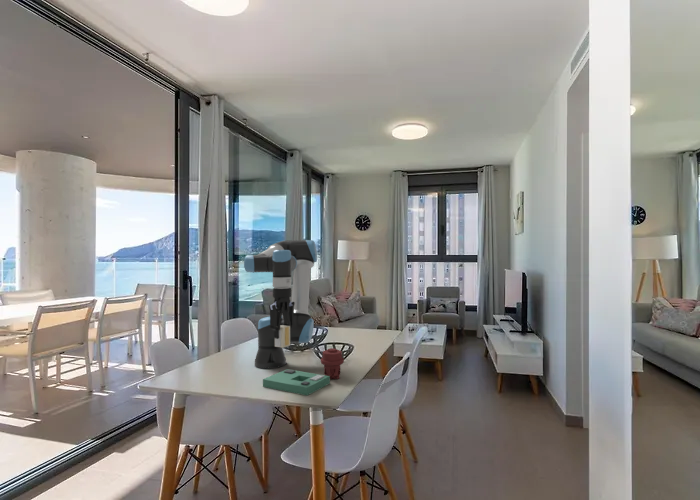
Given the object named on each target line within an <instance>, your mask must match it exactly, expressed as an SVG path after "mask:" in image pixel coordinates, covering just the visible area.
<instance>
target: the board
mask: <svg viewBox="0 0 700 500" xmlns="http://www.w3.org/2000/svg"><path fill="white" fill-rule="evenodd" d="M330 381H331V379H330V376H326V375H324V374H319V373H312V372H306V371H301V370H295V369H289V368H288V369H285V370H281V371H280V372H277V373H275V374H273V375H270V376H268V377H265V378H262V387H264V388H269V389H273V390H278V391H282V392H287V393H288V392H289V393H293V394H299V395H303V396H309V395H311V394H313V393H315V392H317V391H318V390H320V389H322V388H324V387H326V386H327V385H329V384H331V383H330Z"/></svg>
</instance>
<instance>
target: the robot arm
mask: <svg viewBox="0 0 700 500" xmlns="http://www.w3.org/2000/svg"><path fill="white" fill-rule="evenodd" d="M317 254H318V252H317V245H316V243H315V241H314V240H311V239H302V240H301V239H300V240H298V239H295V240H292V239H291V240H288V239H287V240H281V241H278V242H276V243H273V244H271V245H269V246H268V247H267V249H266V250H264V251H261V252H260V253H258V254H247V255H246V256H245V257H244V258H243V259H244V260H243V268H244V271H245V272H246V273H254V274H255V273H272V288H273V289H272V297H273V299H274V300H273V303H272V304H268V308H269V316H266V317H262V318H260V319H259V320H258V323H257V326H258V327H257V343H258V344H257V347H258V348H257V352H256V355H255V359H254V367H256V368H258V369H276V368H280V367H284V366H286V364H287V358H286V355H285V351H284V349H283V348H281V330H280V325H285V326H290V344H308V343H309V342H310V341H311V340H312V336H313V333H314V324H315V321H314V319H313V318H312V315H311V314H310V313H309V302H310V284H311V283H310V282H311V268H313V267H314V264H315V263H317V262H318V255H317ZM292 272H293V278H292ZM291 287H292V288H291ZM290 298H291V299H290ZM275 346H277V347H275Z"/></svg>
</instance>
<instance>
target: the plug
mask: <svg viewBox="0 0 700 500" xmlns="http://www.w3.org/2000/svg"><path fill="white" fill-rule="evenodd" d="M280 330H281V348H288V347H289V346H291V343H290V326H285V325H280ZM275 347H277V346H275Z"/></svg>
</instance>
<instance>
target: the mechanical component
mask: <svg viewBox="0 0 700 500" xmlns="http://www.w3.org/2000/svg"><path fill="white" fill-rule="evenodd" d="M320 363H321V365H323V367H324V368H323V370H324V371H323V373H324V374H323V375H326V376H330V380H340V375H341V365H342V364H344V363H345V359H344V358H343V352H342V350H340V349H337V348H332V347H331V348H328V349H326V350H323V351H322V357H321V358H320Z"/></svg>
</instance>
